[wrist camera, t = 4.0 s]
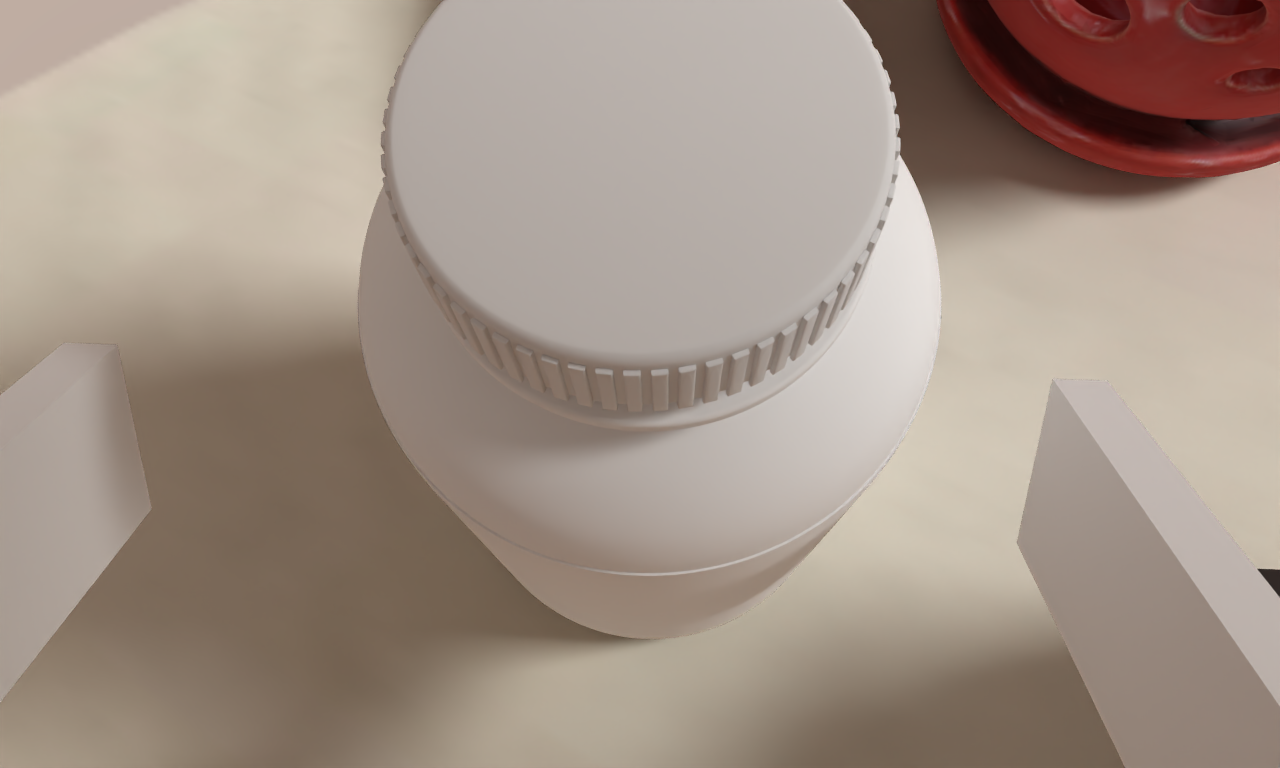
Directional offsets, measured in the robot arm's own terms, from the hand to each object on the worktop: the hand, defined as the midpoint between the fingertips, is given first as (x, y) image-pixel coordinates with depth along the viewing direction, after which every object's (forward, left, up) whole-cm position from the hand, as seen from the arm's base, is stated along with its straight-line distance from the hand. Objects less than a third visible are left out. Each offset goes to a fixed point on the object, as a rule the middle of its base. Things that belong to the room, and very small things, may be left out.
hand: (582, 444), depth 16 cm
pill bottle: (-1, -2, -10) cm, 10 cm away
